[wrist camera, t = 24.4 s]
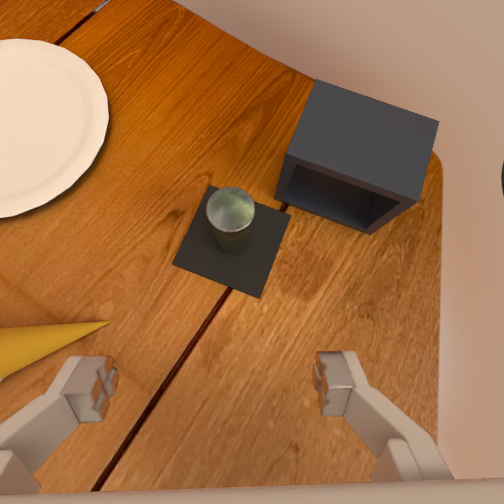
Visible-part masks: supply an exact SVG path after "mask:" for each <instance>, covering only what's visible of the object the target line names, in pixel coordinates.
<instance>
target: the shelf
mask: <svg viewBox="0 0 504 504" xmlns="http://www.w3.org/2000/svg"><path fill="white" fill-rule="evenodd" d="M438 125H439V121H437V120H434V119H431V118H428V117H425V116H422V115H419V114H417V113H414V112H410V111H408V110H405V109H402V108H399V107H396V106H393V105H390V104H387V103H384V102H382V101H379V100H376V99H373V98H370V97H367V96H364V95H361V94H358V93H355V92H352V91H349V90H347V89H344V88H340V87H338V86H335V85H332V84H329V83H326V82H323V81H320V80H317V79H316V80H315V83H314V85H313V88H312V90H311V93H310V95H309V97H308V100H307V102H306V105H305V107H304V110H303V112H302V115H301V117H300V120H299V122H298V124H297V127H296V129H295V132H294V134H293V137H292V139H291V142H290V144H289V147H288V149H287V151H286V154H285V158H284V162H283V166H282V170H281V174H280V178H279V182H278V185H277V189H276V193H275V197H274V199H275V200H278V201H280V202H283V203H286V204H289V205H291V206H294V207H297V208H299V209H302V210H305V211H307V212H310V213H313V214H315V215H318V216H321V217H323V218H326V219H329V220H332V221H334V222H337V223H340V224H342V225H345V226H348V227H350V228H353V229H356V230H358V231H361V232H364V233H366V234H369V235H371V234H372V233H374V232H375V231H377V230H378V229H380V228H381V227H382V226H384V225H385V224H387V223H388V222H390V221H391V220H392V219H394V218H395V217H397V216H398V215H400V214H401V213H403V212H404V211H405V210H407V209H408V208H410V207H411V206H413V205H414V204H416V203H417V202H418V201H419V199H420V195H421V191H422V187H423V183H424V179H425V176H426V172H427V168H428V164H429V160H430V156H431V152H432V148H433V144H434V140H435V136H436V133H437V129H438Z"/></svg>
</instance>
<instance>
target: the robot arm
mask: <svg viewBox="0 0 504 504" xmlns="http://www.w3.org/2000/svg"><path fill="white" fill-rule="evenodd" d="M315 360H316V363H315V364H314V365H313V383H314V387H315V390H316V391H317V392H318V393H319V395H318V404H319V408H320V412H321V416H344V417H343V418H344V419H345V420H346V421H347V423H348V424H349V425H350V426H351V428H352V429H353V430H354V431H355V432H356V434H357V435H358V436H359V437H360V438H361V440H362V441H363V442H364V443H365V444H366V446H367V447H368V448H369V449H370V451H371V452H372V453H373V454H374V455H375V457H376V458H377V459H378V462H377V464H376V466H375V468H374V470H373V472H372V474H371V479H372V482H367V483H338V484H308V485H279V486H249V487H220V488H191V489H161V490H132V491H104V492H75V493H46V494H38V493H39V491H40V489H41V486H40V483H39V482H38V481H37V479H36V478H35V477H34V476H33V475H32V474H33V473H34V472H35V471H36V470H37V469H38V468H39V467H40V466H41V465H42V464H43V463H44V461H45V460H46V459H47V458H48V457H49V456H50V455H51V454H52V453H53V452H54V451H55V450H56V449H57V448H58V447H59V446H60V445H61V444H62V443H63V442H64V441H65V440H66V439H67V438H68V437H69V436H70V434H71V433H72V432H73V431H74V430H75V429H76V428H77V427H78V426H79V425H80V424H79V423H95V422H103V421H104V418H105V416H106V414H107V411H108V409H109V406H110V403H109V400H108V399H109V398H110V397H111V396H113V395H114V394H115V391H116V389H117V386H118V380H119V374H118V370H117V368H115V367H114V366H113V363H114V359H113V357H112V356H70V357H69V358H68V359H67V360H66V361H65V363H64V365H63V366H62V368H61V369H60V371H59V373H58V374H57V376H56V377H55V379H54V380H53V382H52V384H51V385H50V387H49V388H48V390H47V391H46V393H45V395H39V396H38V397H37V398H35V399H34V400H33V401H31V402H30V403H29V404H27V405H26V406H24V407H23V408H22V409H20V410H19V411H18V412H16V413H15V414H14V415H12V416H11V417H9V418H8V419H7V420H5V421H4V422H3V423H1V424H0V504H504V478H485V479H484V478H483V479H454V477H453V476H452V474H451V472H450V470H449V468H448V466H447V464H446V462H445V461H444V459H443V457H442V455H441V453H440V451H439V449H438V448H437V446H436V444H435V442H434V440H433V438H432V437H431V436H430V435H429V434H428V433H427V432H426V431H425V430H423V429H422V428H421V427H420V426H419V425H418V424H416V423H415V422H414V421H413V420H412V419H411V418H409V417H408V416H407V415H406V414H405V413H404V412H402V411H401V410H400V409H399V408H398V407H397V406H396V405H394V404H393V403H392V402H391V401H390V400H389V399H387V398H386V397H385V396H384V395H383V394H382V393H380V392H379V391H378V390H377V389H376V388H375V387H370V385H369V382H368V380H367V378H366V375H365V373H364V371H363V368H362V366H361V364H360V362H359V359H358V357H357V355H356V353H355V352H354V351H317V352H316V354H315Z"/></svg>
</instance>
